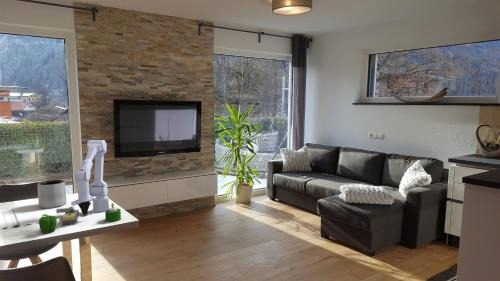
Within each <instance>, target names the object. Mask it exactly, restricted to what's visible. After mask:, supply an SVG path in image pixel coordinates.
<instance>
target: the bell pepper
mask: <svg viewBox="0 0 500 281" xmlns="http://www.w3.org/2000/svg"><path fill="white" fill-rule="evenodd" d="M57 222H58V220H57V216H56V215H48V214H47V213H44V214H41V217H40V218H39V220H38V226H39V230H40V232H41V233H42V234H48V233H53V232H55V231H56V228H57V224H58V223H57Z"/></svg>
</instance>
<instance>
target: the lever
mask: <svg viewBox="0 0 500 281" xmlns="http://www.w3.org/2000/svg"><path fill="white" fill-rule="evenodd" d="M74 210H75V206H69V207H63V208H56V210H55V212H56V214H60V213H63V214H64V213H65V212H73V211H74Z"/></svg>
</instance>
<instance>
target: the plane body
mask: <svg viewBox="0 0 500 281" xmlns="http://www.w3.org/2000/svg"><path fill="white" fill-rule="evenodd" d="M69 213H76V217H75V219H74V220H65V221H63V218H62V220H61V226H69V225H77V222H78V219H79V216H80V210H79V209H74V211H73V212H64V214H69Z"/></svg>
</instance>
